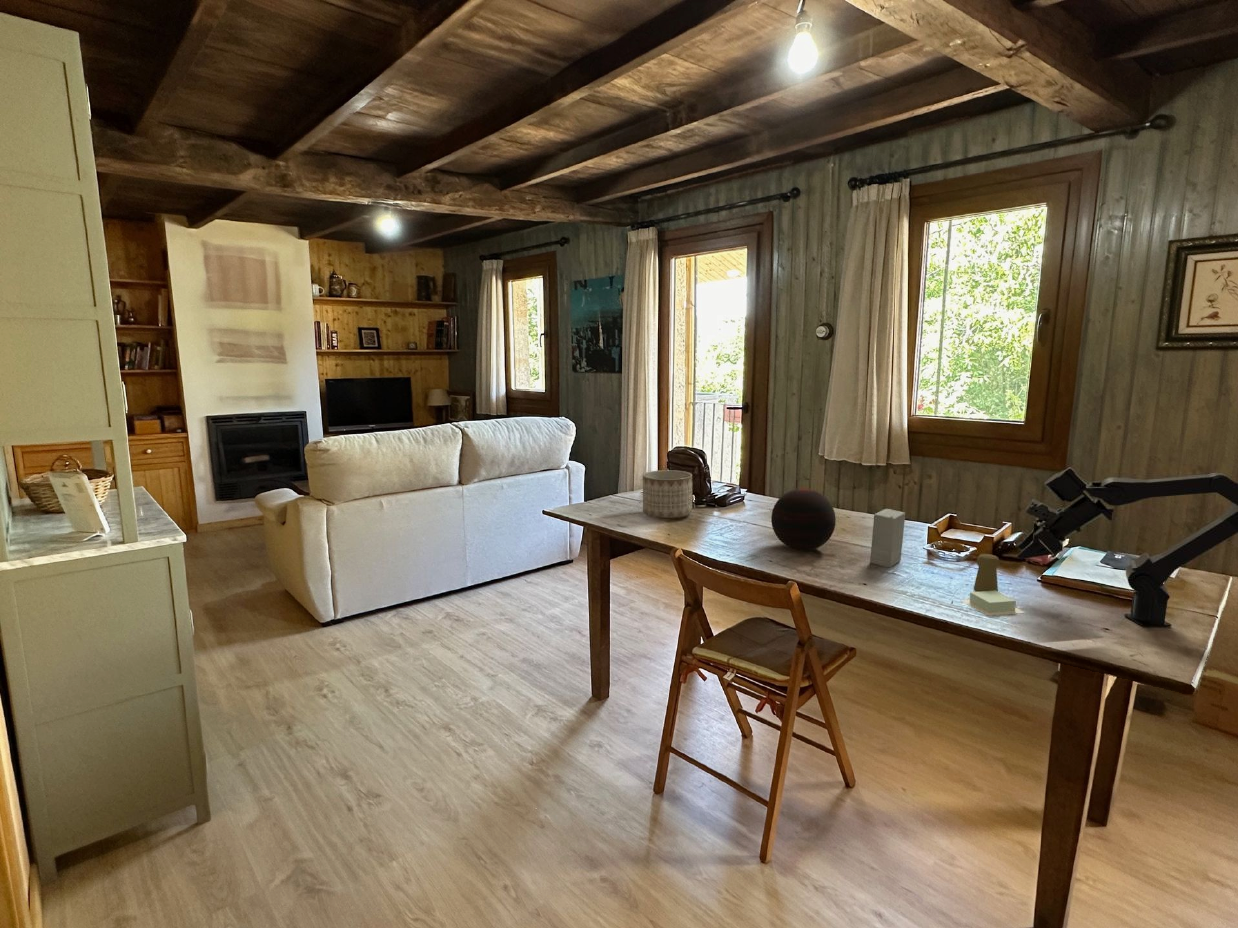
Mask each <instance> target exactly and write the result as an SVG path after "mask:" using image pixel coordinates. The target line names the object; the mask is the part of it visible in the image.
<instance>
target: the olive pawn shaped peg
mask: <svg viewBox="0 0 1238 928" xmlns="http://www.w3.org/2000/svg"><path fill="white" fill-rule="evenodd" d="M976 564H977V567H978V569H977V573H976V577H975V581H974V584H973V590H974V592H982V591H995V590H996V591H998V592H999V588H998V585H999V584H998V572H997V571H998V570H997V569H998V568H999V566H1000V559H999V557H998V556H996V555H993V554H990V553H989V554H988V553H982V554H979V555H978V556H977V558H976Z"/></svg>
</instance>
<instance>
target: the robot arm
mask: <svg viewBox="0 0 1238 928" xmlns="http://www.w3.org/2000/svg"><path fill="white" fill-rule="evenodd" d="M1044 486H1045V487H1047V489H1048V490H1049V491H1050V492H1051V493H1053V494H1054V496H1055V497H1056V498H1058V500H1059V501H1060V502H1065V501H1066V503H1070V504H1068V505H1067V506H1065V507H1059V508H1058V509H1055V508H1053V507H1051V506H1049V505H1047V504H1046V503H1044V502H1041V501H1039V500H1037V499H1035V498H1033V499H1032V500H1031V501H1030V502H1029V504H1028V505H1027V507H1026V508H1025V513H1026V514H1028V515H1030V516H1034V517H1035V520H1034V521H1033V528H1032V531H1030V533H1029V534H1027V536H1026V537H1025V538H1024V539H1023V540H1022V542H1020V544H1019V545H1018V548H1019V550H1021V552H1019V553H1018V554H1017V555H1016V557H1017V558H1018V559H1019V560H1025V559H1030V558H1031V559H1033V558H1038V557H1044V556H1053V555H1054V556H1056V555H1058V554H1060V553H1061V552H1063V550H1064V548H1063V547H1064V543H1063V542H1065V541H1066V540H1067V537H1069V536H1071V535H1072V534H1074V533H1076V532H1077V533H1080V532H1081V531H1082V530H1083V527H1085V526H1087V525H1088V524H1090V523H1092V522H1093V521H1095V520H1096V519H1098V518H1099V517H1101V516H1104V517H1105V518H1106V519H1107V520H1108V521H1112V520H1113V513H1114V511H1115V509H1114V507H1113V506H1115V507H1117V506H1124V505H1128V504H1132V503H1138V502H1140V501H1142V500H1147V499H1151V498H1162V497H1163V498H1164V497H1173V496H1174V497H1175V496H1185V495H1186V496H1188V495H1198V494H1199V495H1200V494H1213V493H1215V494H1219V495H1220V496H1222V497H1223V498H1225V499H1226V500H1228V501H1230V502H1231V503H1232V504H1231V505H1229V507H1228V508H1227V509H1226V511H1225V512H1223V513H1222V514H1221V516H1220V517H1219V518H1216V519H1215V520H1213V521H1211V522H1210V523H1209V524H1207V525H1205V526H1204V527H1202V528H1200V529H1199V530H1197V531H1196V532H1194V533H1192V534H1191V535H1189V536H1188V537H1186V538H1184V539H1183V540H1181V541H1179V542H1178V543H1176V544H1174V545H1173V546H1171V547H1169V548H1168V549H1166V550H1165V551H1162V552H1160V553H1159V554H1156V555H1151V556H1150V555H1149V554H1148V552H1146V551H1145V552H1144V553H1142V554H1141V555H1140V556H1138V557H1137V558H1135V559H1131V560H1129V565H1128V566H1127V567H1126V568H1125V576H1126V579H1127V583H1128V586H1129V587H1130V588H1131V589H1132V590H1134V592H1133V595H1132V599H1131V607H1130V613H1124V617H1125V618H1128V619H1129V620H1131V621H1133V622H1135V623H1137V624H1138V625H1140V626H1142V627H1156V628H1157V627H1172V623H1170V622H1169V621H1166V616H1167V615H1166V614H1167V608H1168V601H1169V599H1170V597H1171V596H1170V593H1169V592H1168V590H1167V587H1166V585H1165V584H1164V583H1166V582H1167V580H1169V578H1170V577H1171V576H1172V574H1173V573H1174V572H1175V571H1177V570H1178V569H1180V568H1181V567H1183V566H1185V565H1186V564H1188V563H1190V562H1191V561H1193V560H1195V559H1197V558H1198V557H1199V556H1201V555H1203V554H1205V553H1207V552H1208V551H1210V550H1212V549H1213V548H1214V547H1217V546H1218V545H1220V544H1221V543H1224V542H1225V541H1227V540H1228V539H1230V538H1232V537H1234V536H1235V535H1237V534H1238V482H1236V481H1235V480H1232V479H1231V477H1228V476H1227V475H1225V474H1224V473H1222V472H1212V473H1208V474H1207V473H1206V474H1198V475H1186V476H1173V477H1163V478H1151V479H1138V478H1131V477H1130V478H1129V477H1113V476H1112V477H1107V478H1105V479H1104V480H1102V481H1086V482H1085V481H1084V480H1083V479H1082V478H1081V477H1080V476H1079V475H1078V474H1077V473H1076V472H1075V470H1074V469H1073V468H1072V467H1067V468H1066V469H1063V470H1062V471H1060V472H1058V473H1055V474H1054V475H1052V476H1051V477H1049V478H1048V479H1047V480H1045V482H1044ZM1079 497H1080V498H1079ZM1076 499H1077V500H1076ZM1073 501H1074V502H1073ZM1104 503H1106V504H1107V505H1109V506H1111V507H1109V506H1107V505H1106V504H1104Z"/></svg>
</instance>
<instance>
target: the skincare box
mask: <svg viewBox="0 0 1238 928" xmlns="http://www.w3.org/2000/svg"><path fill="white" fill-rule="evenodd" d="M905 520H906V512H903V511H899V510H894V509H889V508H885V509H882V510H880V511H879V512H876V513H874V514H873V523H872V524H873V525H872V538H871V549H870V560H869V563H870V564H874V565H878V566H881V567H885V568H892V567H893V566H894V565H896V564H897V563H899V562H901V559H902V551H903V543H904V542H903V540H904V530H905V522H906V521H905Z"/></svg>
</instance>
